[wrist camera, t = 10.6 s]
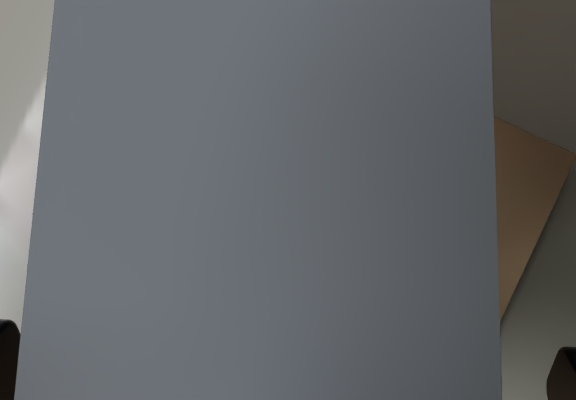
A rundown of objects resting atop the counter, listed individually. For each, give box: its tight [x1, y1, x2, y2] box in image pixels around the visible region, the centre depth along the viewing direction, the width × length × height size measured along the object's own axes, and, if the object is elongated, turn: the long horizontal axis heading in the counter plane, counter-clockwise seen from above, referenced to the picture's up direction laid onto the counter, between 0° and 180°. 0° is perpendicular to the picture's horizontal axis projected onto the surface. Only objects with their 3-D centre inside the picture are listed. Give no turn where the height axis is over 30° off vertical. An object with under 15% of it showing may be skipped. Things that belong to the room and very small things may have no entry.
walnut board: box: [494, 117, 576, 321], centre depth 15 cm, size 11×11×1 cm
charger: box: [14, 0, 502, 400], centre depth 10 cm, size 5×5×9 cm
